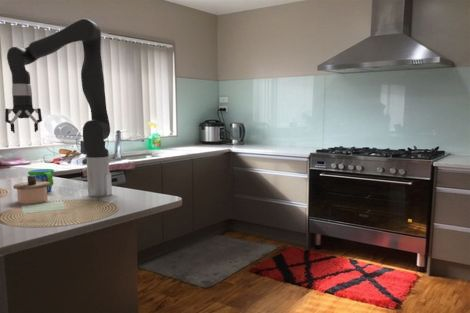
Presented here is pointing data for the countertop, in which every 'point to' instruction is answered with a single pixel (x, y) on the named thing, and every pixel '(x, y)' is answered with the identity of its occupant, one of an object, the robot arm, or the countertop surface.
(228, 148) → the countertop surface
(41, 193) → the bowl
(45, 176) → the snack cup
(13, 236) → the countertop surface
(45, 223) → the countertop surface
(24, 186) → the lid
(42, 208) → the mat
